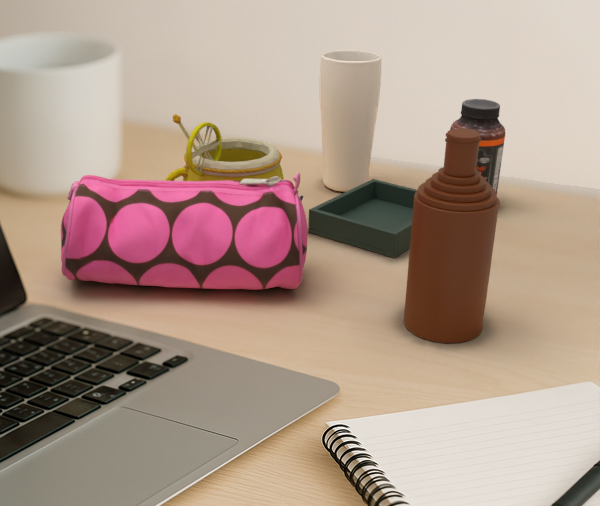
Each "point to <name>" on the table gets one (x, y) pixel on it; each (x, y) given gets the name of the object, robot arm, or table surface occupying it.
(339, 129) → the drinking glass
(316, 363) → the table surface
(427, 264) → the bottle
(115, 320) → the table surface
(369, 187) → the tray
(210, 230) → the pencil case
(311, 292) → the table surface
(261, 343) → the table surface
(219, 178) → the yellow round vessel
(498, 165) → the supplement bottle
